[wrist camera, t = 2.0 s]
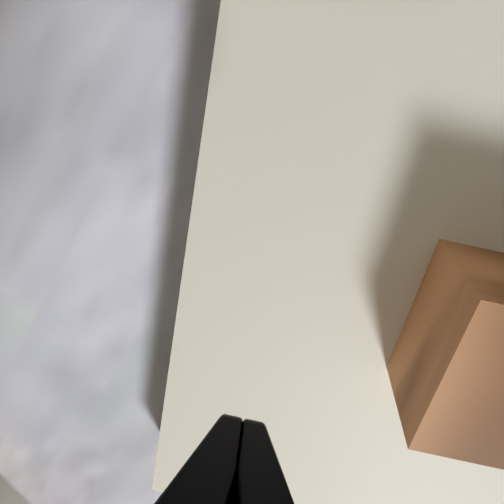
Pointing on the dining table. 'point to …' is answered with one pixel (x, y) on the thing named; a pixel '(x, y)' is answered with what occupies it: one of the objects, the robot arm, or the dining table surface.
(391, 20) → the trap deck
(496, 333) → the block
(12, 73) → the dining table surface
